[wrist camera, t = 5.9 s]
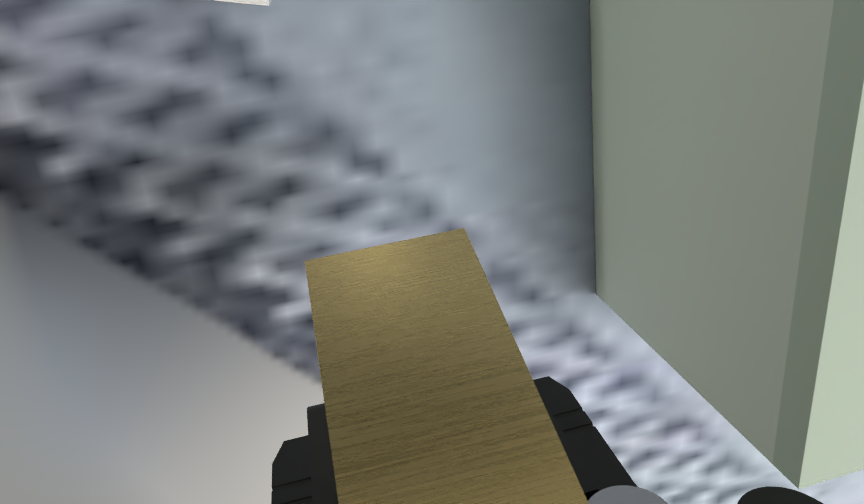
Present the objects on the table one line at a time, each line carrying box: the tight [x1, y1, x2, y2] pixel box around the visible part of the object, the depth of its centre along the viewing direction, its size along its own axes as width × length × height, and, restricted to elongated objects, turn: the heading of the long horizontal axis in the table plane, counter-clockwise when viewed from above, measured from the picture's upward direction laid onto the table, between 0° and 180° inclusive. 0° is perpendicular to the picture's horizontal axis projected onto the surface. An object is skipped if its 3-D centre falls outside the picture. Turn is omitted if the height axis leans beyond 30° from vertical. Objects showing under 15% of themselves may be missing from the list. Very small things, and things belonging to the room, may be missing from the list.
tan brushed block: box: [305, 228, 589, 504], centre depth 11 cm, size 5×3×6 cm, turn 8°
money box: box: [590, 0, 864, 489], centre depth 19 cm, size 18×12×12 cm, turn 7°
